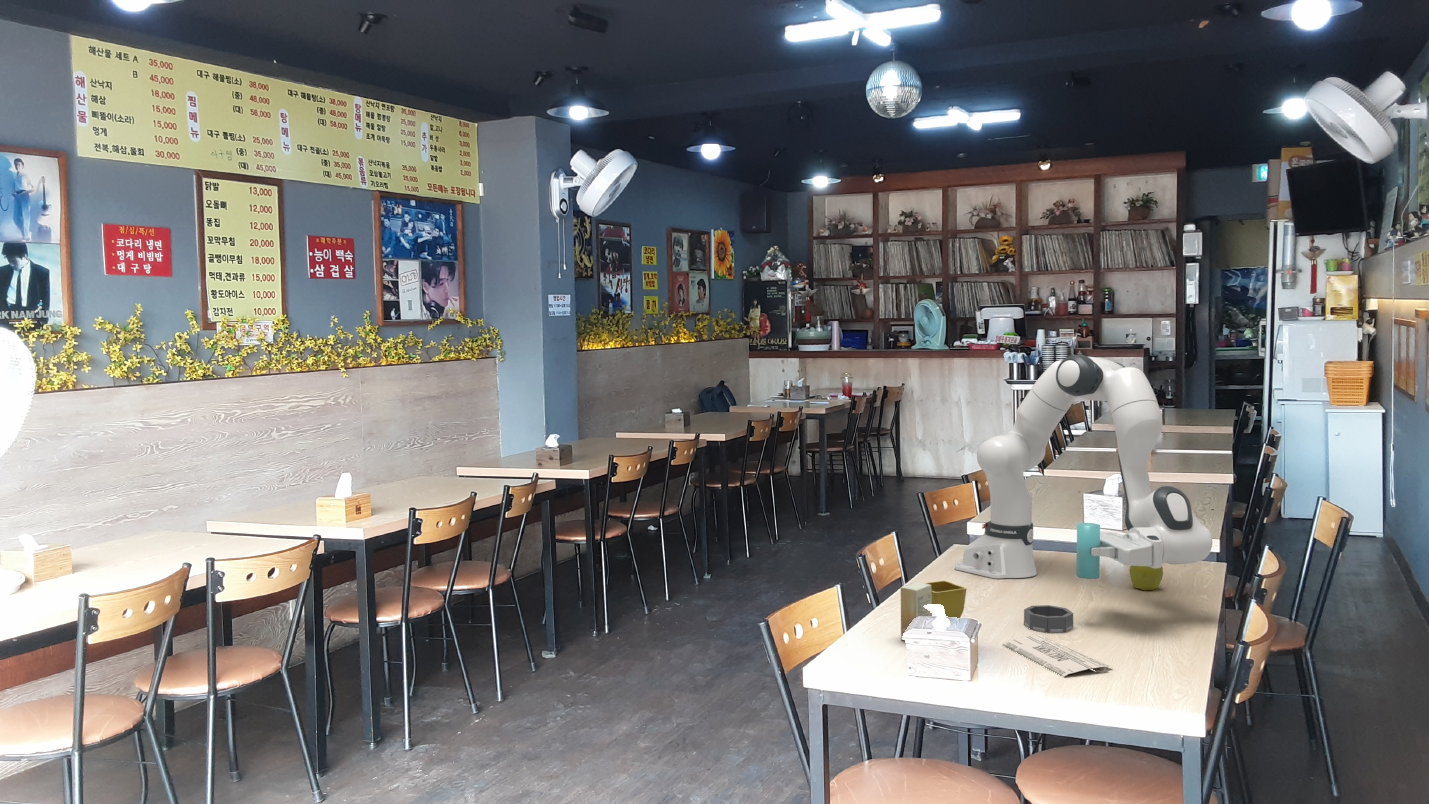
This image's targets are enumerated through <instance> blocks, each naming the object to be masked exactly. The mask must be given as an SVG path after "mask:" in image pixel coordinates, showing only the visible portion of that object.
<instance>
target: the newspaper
mask: <svg viewBox="0 0 1429 804" xmlns="http://www.w3.org/2000/svg"><path fill="white" fill-rule="evenodd" d="M1004 646H1005V647H1004ZM1002 647H1004V648H1006V649H1008V648H1009V649H1008V650H1010V649H1011V650H1010V651H1012V652H1013V653H1016V652H1017V653H1018V654H1017V653H1016V654H1017V655H1019V654H1020V655H1019V656H1021V655H1023V656H1024V657H1023V656H1022V657H1023V658H1025V657H1026V658H1025V659H1027V658H1028V659H1027V660H1029V659H1030V660H1029V661H1031V660H1032V661H1031V662H1033V661H1034V662H1033V663H1035V662H1036V663H1035V664H1037V663H1038V664H1039V666H1040V665H1041V666H1040V667H1042V666H1044V667H1045V668H1044V667H1043V668H1044V669H1046V668H1047V669H1046V670H1048V669H1049V670H1048V671H1050V670H1051V671H1050V672H1052V671H1053V672H1052V673H1054V672H1055V673H1054V674H1056V673H1057V674H1056V675H1058V674H1059V675H1060V676H1059V675H1058V676H1059V677H1061V676H1063V677H1064V678H1066V676H1068V675H1070V674H1075V673H1078V672H1082V671H1086V670H1088V669H1093V670H1095V671H1096V672H1102V674H1103V673H1107V672H1108V671H1109V669H1112V668H1114V667H1113V666H1110V665H1108V664H1106V663H1103V662H1101V661H1099V660H1096V659H1094V658H1092V657H1090V656H1087V655H1085V654H1082V653H1080V652H1078V651H1076V650H1074V649H1071V648H1069V647H1067V646H1065V645H1063V644H1061V643H1058V642H1056V641H1054V640H1051V639H1050V638H1048V637H1046V636H1044V635H1042V634H1035V635H1028V636H1023V637H1019V638H1014V639H1011V640H1006V641H1004V642H1003V643H1002ZM1038 664H1037V665H1038ZM1063 677H1062V678H1063Z"/></svg>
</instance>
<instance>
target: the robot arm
mask: <svg viewBox="0 0 1429 804" xmlns="http://www.w3.org/2000/svg"><path fill="white" fill-rule="evenodd" d="M1077 398H1080V399H1085V400H1088V401H1096V402H1097V401H1098V402H1104V403H1107V405H1108V406H1109V407H1108V408H1109V412H1110V414H1111V419H1112V421H1113V426H1114V430H1115V437H1116V442H1117V443H1116V445H1117V457H1118V458H1117V459H1118V460H1117V461H1118V465H1119V470H1120V471H1119V473H1120V476H1121V482H1122V487H1123V491H1124V497H1125V503H1126V505H1125V513H1124V515H1125V516H1124V524H1125V527H1126V529H1127V533H1124V534H1121V533H1118V532H1116V531H1115V532H1114V531H1100V548H1098V547H1090V554H1091V555H1092V556H1100V557H1104V558H1109V559H1112V560H1114V561H1116V562H1118V563H1120V564H1122V565H1125V566H1129V567H1130V566H1148V567H1151V568H1161V565H1164V564H1169V565H1175V566H1176V565H1186V564H1194V563H1200V562H1202V561H1204V560H1205V559H1206V558H1207V557H1208V556H1209V555H1210V553H1211V550H1212V548H1213V536H1212V533H1211V532H1210V530H1209V528H1207V527H1206V526H1204V525H1203V524H1202V523H1201V522H1200V521H1199V519H1198V518H1197V516H1196V514H1195V512H1194V511H1193V509H1192V505H1191V502H1190V500H1189V498H1188V496H1187V495H1186V493H1184V492H1183V490H1180V489H1179V488H1177V487H1174V486H1170V485H1165V486H1164V485H1162V486H1160V487H1158V488H1157V489H1156V490H1154V491H1153V490H1152V485H1151V480H1150V476H1149V471H1148V463H1149V460H1150V459H1149V458H1150V456H1151V454H1152V451H1153V449H1154V447H1155V445H1156V443H1157V442H1158V440H1159V438H1160V436H1161V435H1162V432H1163V417H1162V411H1161V408H1160V406H1159V404H1158V399H1157V396H1156V395H1155V391H1154V389H1153V388H1152V386H1151V383H1150V381H1149V379H1148V378H1147V376H1146V374H1145V373H1144V371H1142V369H1139V368H1137V367H1134V366H1125V365H1124V364H1121V363H1120V362H1115V361H1112V360H1110V359H1107V358H1103V357H1094V356H1087V355H1084V354H1074V355H1069V356H1067V357H1065V358H1063V359H1060V360H1056V361H1055V362H1053V363H1051V364H1050V365H1049V366H1048V367H1047V368H1046V369H1045V371H1043V372H1042V373H1041V375H1039V378H1037V380H1036V381H1035V382H1034V384H1033V385H1032V386H1031V388H1030V389H1029V391H1028V392H1027V394H1026V396H1025V397H1024V398H1023V400H1022V401H1021V403H1020V404H1019V406H1018V407H1017V409H1016V418H1015V421H1014V424H1013V426H1012V427H1011V429H1010V430H1009V432H1007V433H1005V434H1001V435H995V436H992V437H990V438H988V439H987V440H985V441H984V442H983V443H981V444H980V445H979V447H978V449H977V452H976V460H977V464H978V466H979V467H980V469H981V470H982V471H983V473H984V475H985V477H986V481H987V485H988V489H989V496H990V501H989V502H990V520H989V521H986V522H985V523H983V524H981V526H982V527H981V529H984V533H983V534H982V535H980V536H979V537H978V538H976V539H975V540H973V541H972V542H970V543H969V544H968V545H966V547H965V548H964V551H963V552H964V553H963V555H962V560H960V561H958V562H956V563H955V564H954V570H957V571H960V572H961V571H962V572H965V573H969V574H975V575H979V576H982V577H987V578H990V579H998V580H999V579H1022V578H1031V577H1034V576H1036V575H1038V571H1037V567H1036V564H1035V563H1036V562H1035V558H1034V550H1033V543H1034V522H1032V519H1033V518H1032V517H1033V516H1032V515H1033V514H1032V513H1033V508H1032V506H1033V503H1032V502H1033V499H1032V498H1033V497H1032V494H1031V492H1030V491H1029V489H1028V487H1027V484H1026V481H1025V476H1024V472H1026V471H1030V470H1033V468H1035V467H1037V466H1038V465H1039V464H1040V463H1042V461H1043V460H1044V459H1045V456H1046V448H1047V445H1048V443H1049V440H1050V439H1051V437H1052V435H1053V432H1054V431H1055V429H1056V428H1057V426H1058V424H1059V423H1060V422H1061V421H1062V420H1063V417H1064V416H1065V414H1066V413H1067V412H1068V410H1069V409H1070V407H1071V406H1072V405H1073V403H1074V402H1075V400H1076V399H1077Z"/></svg>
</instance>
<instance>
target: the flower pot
mask: <svg viewBox="0 0 1429 804" xmlns="http://www.w3.org/2000/svg"><path fill="white" fill-rule="evenodd" d="M923 583H924V584H929V585H931V592H932V604H941V605H943V606H944V609H945V614H946V616H948V617H957V618H960V619H961V617H962V614H963V613H964V609H965V605H966V594H967V587H965V586H961V585H958V584H956V583H952V582H950V581H948V580H937V581H932V582H923Z"/></svg>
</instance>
